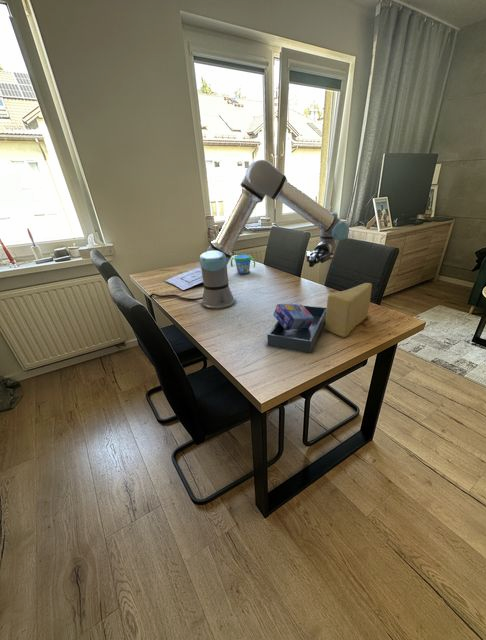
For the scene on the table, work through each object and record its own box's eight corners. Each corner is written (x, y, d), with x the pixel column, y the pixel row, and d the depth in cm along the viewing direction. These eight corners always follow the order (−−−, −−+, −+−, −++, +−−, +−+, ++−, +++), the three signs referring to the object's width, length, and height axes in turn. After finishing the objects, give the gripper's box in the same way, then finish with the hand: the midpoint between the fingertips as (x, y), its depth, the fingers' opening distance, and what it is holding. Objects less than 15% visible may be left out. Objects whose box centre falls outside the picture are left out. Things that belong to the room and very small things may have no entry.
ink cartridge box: (315, 317, 105) (285, 319, 98) (309, 328, 109) (280, 331, 101) (301, 302, 111) (271, 303, 104) (296, 313, 115) (267, 315, 107)
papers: (228, 276, 167) (227, 270, 165) (184, 294, 153) (182, 288, 151) (207, 268, 183) (206, 263, 181) (166, 284, 169) (164, 279, 167)
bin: (267, 345, 100) (267, 334, 97) (291, 312, 123) (291, 303, 121) (310, 353, 95) (311, 341, 92) (326, 317, 118) (327, 307, 115)
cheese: (355, 313, 121) (360, 279, 113) (376, 320, 114) (383, 284, 106) (323, 329, 109) (327, 293, 101) (344, 338, 102) (350, 300, 94)
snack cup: (257, 270, 180) (257, 254, 175) (252, 275, 172) (251, 258, 166) (235, 269, 184) (234, 253, 179) (229, 274, 176) (227, 257, 170)
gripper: (335, 260, 133) (325, 274, 114) (308, 258, 137) (295, 271, 119) (337, 243, 129) (327, 255, 111) (309, 242, 133) (296, 253, 115)
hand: (310, 263), depth 115 cm, fingers closed
